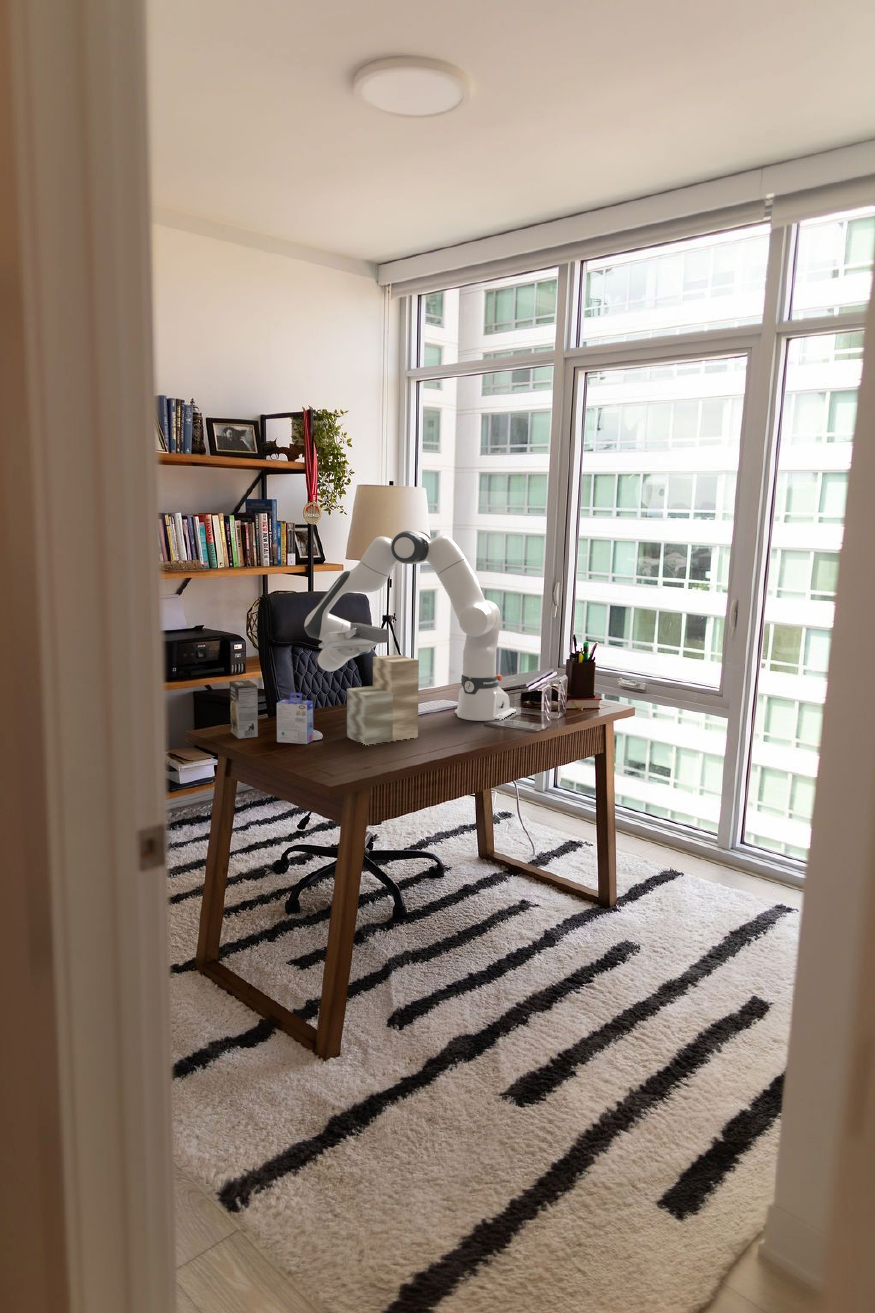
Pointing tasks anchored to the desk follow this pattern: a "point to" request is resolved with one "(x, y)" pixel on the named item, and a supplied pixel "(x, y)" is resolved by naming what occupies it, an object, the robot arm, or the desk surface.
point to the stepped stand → (385, 702)
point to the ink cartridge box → (295, 720)
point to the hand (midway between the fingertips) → (362, 629)
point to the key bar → (370, 632)
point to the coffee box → (244, 709)
